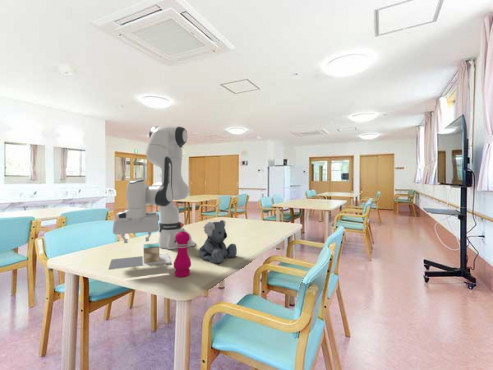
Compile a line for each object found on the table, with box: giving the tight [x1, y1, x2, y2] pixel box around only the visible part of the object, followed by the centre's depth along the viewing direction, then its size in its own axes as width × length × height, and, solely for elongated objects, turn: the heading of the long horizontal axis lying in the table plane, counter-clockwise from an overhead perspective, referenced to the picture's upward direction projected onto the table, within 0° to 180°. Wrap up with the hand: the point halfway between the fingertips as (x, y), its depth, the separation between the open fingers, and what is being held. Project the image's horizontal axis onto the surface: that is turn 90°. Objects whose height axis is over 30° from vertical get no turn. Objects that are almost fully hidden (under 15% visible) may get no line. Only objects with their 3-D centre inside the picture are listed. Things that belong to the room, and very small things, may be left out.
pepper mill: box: [173, 227, 192, 278], centre depth 108 cm, size 7×7×20 cm
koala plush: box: [198, 219, 237, 264], centre depth 132 cm, size 17×18×20 cm
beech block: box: [143, 242, 160, 263], centre depth 124 cm, size 7×7×7 cm
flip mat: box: [108, 253, 172, 270], centre depth 123 cm, size 26×15×1 cm, turn 113°
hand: (136, 242), depth 122 cm, fingers open, 8 cm apart
